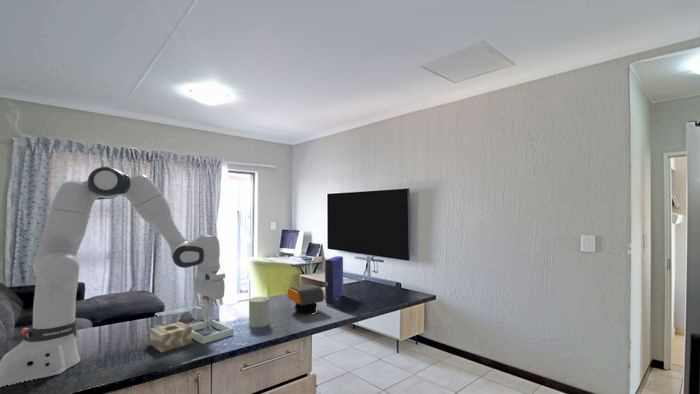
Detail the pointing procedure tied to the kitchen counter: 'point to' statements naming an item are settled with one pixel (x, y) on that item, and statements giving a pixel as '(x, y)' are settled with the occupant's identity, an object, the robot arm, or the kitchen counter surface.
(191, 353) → the kitchen counter surface
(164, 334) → the block
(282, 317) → the kitchen counter surface
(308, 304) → the sander
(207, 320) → the lock pin
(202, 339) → the tray
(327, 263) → the cereal box
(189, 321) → the pulley system
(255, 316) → the can
